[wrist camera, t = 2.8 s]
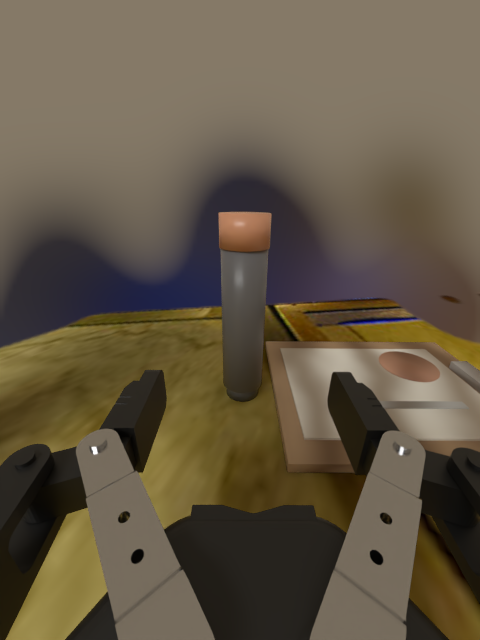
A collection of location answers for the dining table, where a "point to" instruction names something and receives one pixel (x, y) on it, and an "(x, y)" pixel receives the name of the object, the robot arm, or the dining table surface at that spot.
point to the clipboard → (388, 386)
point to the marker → (243, 299)
